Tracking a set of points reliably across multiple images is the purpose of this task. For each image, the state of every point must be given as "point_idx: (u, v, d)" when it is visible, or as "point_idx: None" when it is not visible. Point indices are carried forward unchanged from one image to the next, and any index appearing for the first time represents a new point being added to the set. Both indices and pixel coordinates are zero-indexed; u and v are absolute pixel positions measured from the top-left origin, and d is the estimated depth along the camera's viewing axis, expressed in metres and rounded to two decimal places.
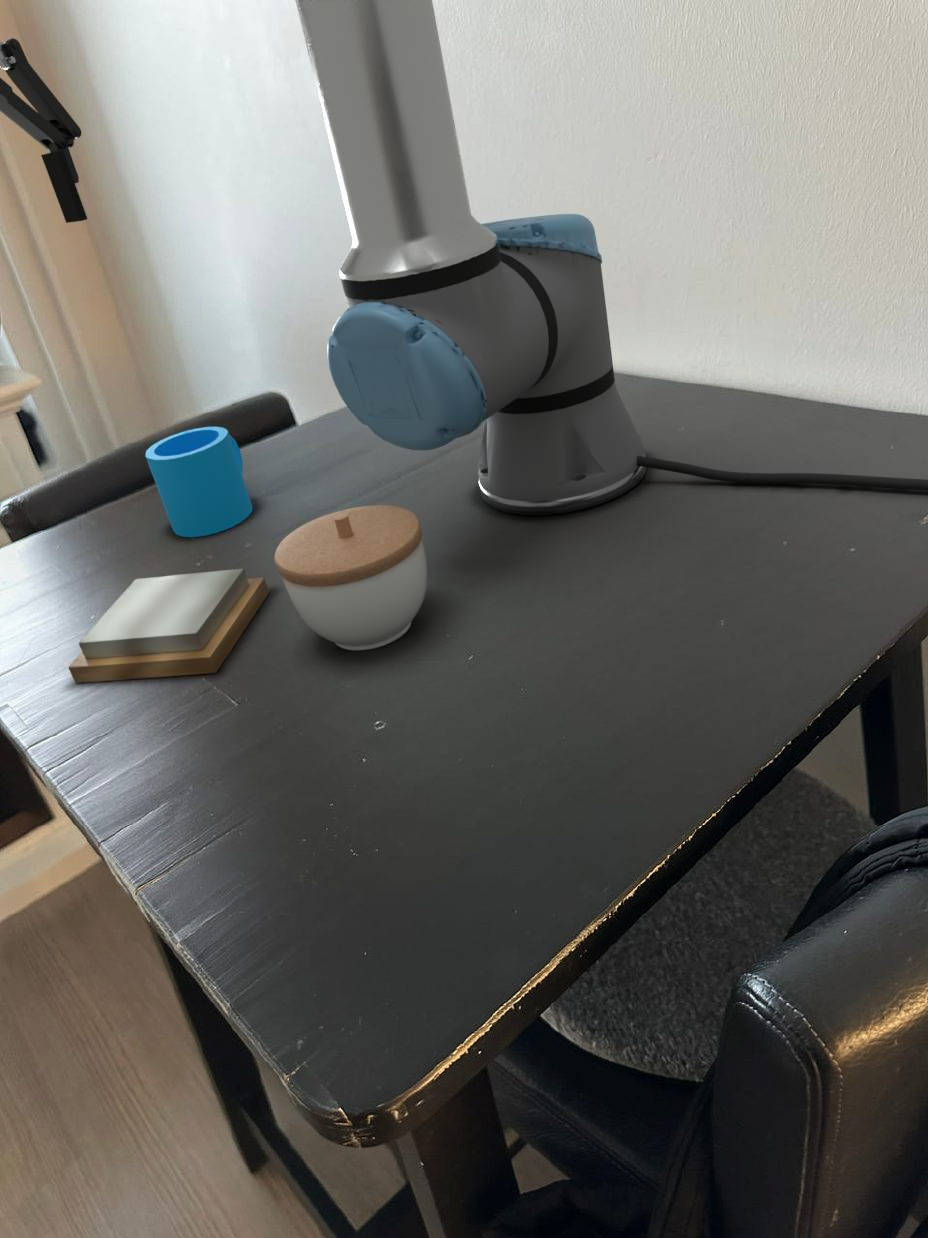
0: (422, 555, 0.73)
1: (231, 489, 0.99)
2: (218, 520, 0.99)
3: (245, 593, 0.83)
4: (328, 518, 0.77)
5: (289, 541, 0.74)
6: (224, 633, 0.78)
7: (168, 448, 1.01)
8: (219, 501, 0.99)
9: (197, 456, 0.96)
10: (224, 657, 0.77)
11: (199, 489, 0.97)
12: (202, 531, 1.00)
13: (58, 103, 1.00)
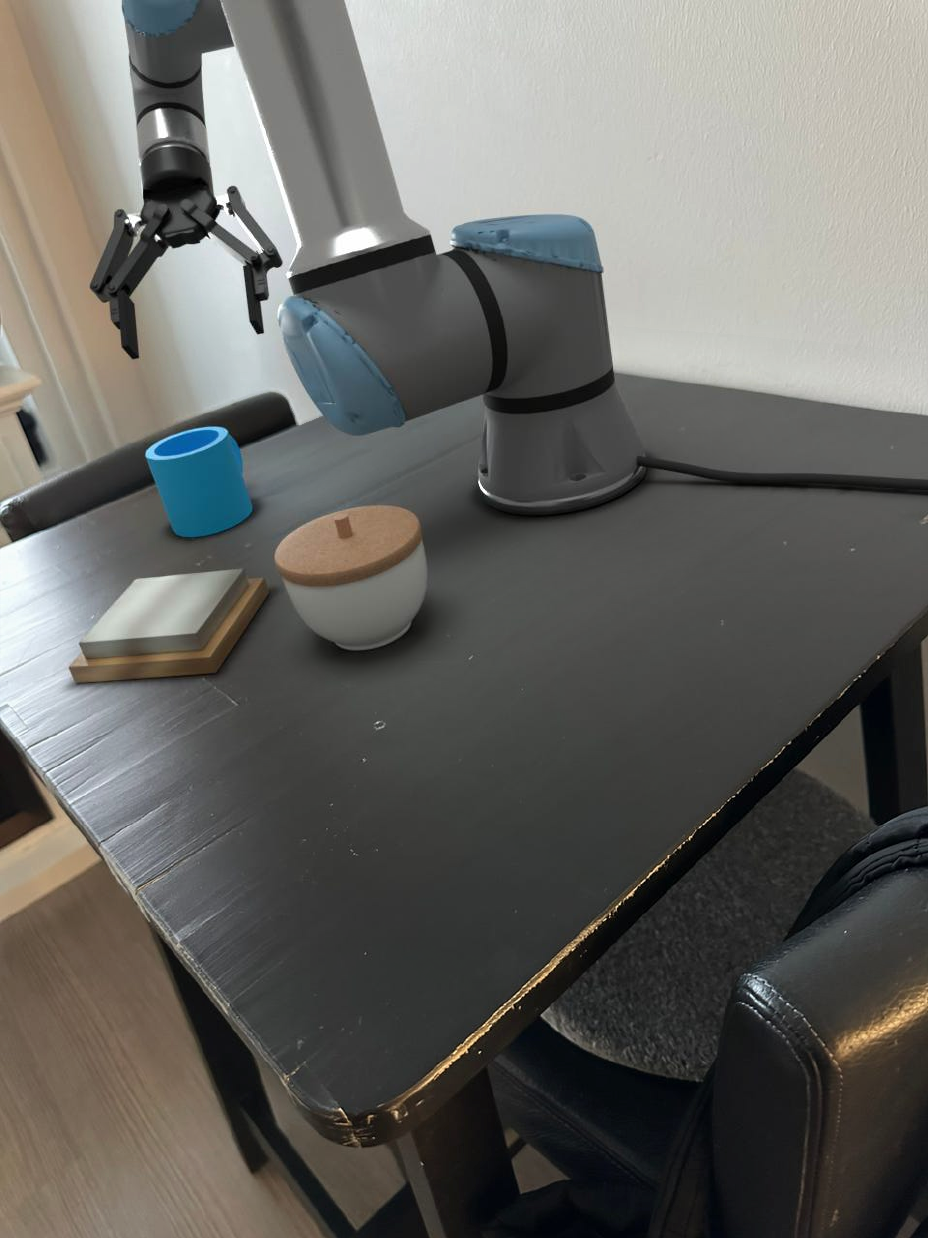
0: (422, 555, 0.73)
1: (231, 489, 0.99)
2: (218, 520, 0.99)
3: (245, 593, 0.83)
4: (328, 518, 0.77)
5: (289, 541, 0.74)
6: (224, 633, 0.78)
7: (168, 448, 1.01)
8: (219, 501, 0.99)
9: (197, 456, 0.96)
10: (224, 657, 0.77)
11: (199, 489, 0.97)
12: (202, 531, 1.00)
13: (259, 229, 1.07)
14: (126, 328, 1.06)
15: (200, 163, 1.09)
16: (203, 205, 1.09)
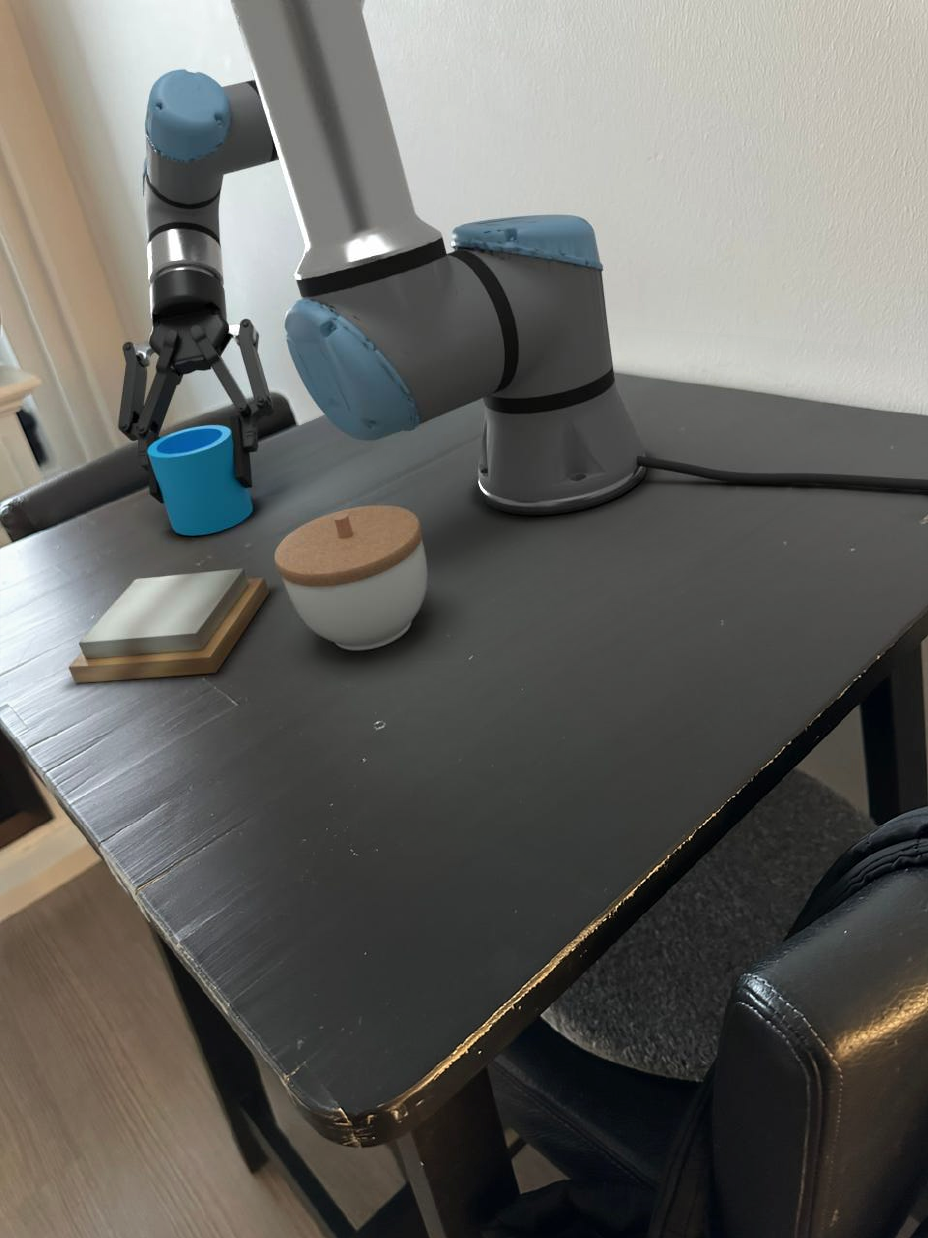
0: (422, 555, 0.73)
1: (232, 489, 0.99)
2: (218, 520, 0.99)
3: (245, 593, 0.83)
4: (328, 518, 0.77)
5: (289, 541, 0.74)
6: (224, 633, 0.78)
7: (170, 445, 1.01)
8: (220, 501, 0.99)
9: (200, 455, 0.96)
10: (224, 657, 0.77)
11: (201, 488, 0.97)
12: (202, 530, 0.99)
13: (257, 374, 1.01)
14: None
15: (212, 286, 1.04)
16: (212, 331, 1.03)
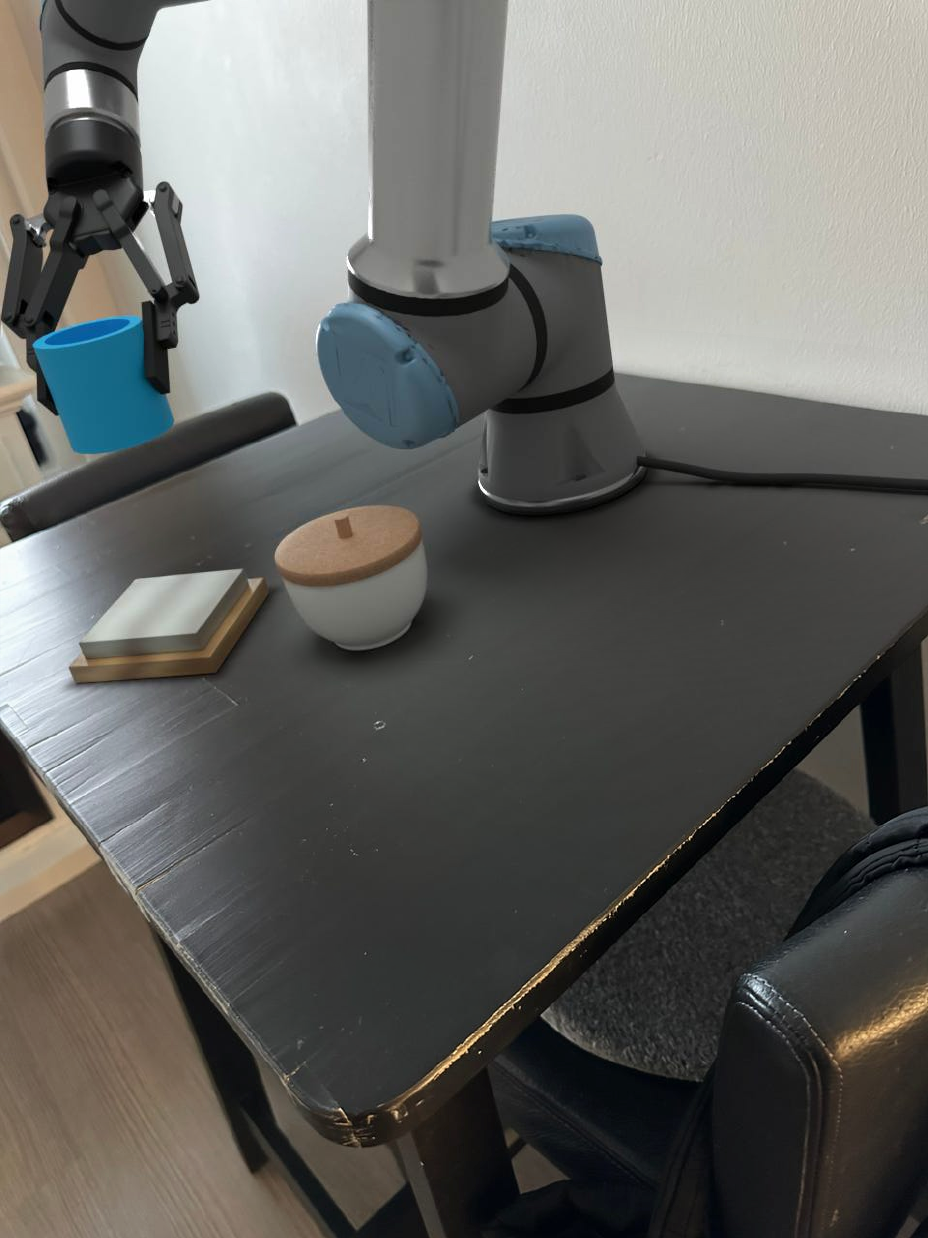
0: (422, 555, 0.73)
1: (143, 393, 0.77)
2: (126, 433, 0.77)
3: (245, 593, 0.83)
4: (328, 518, 0.77)
5: (289, 541, 0.74)
6: (224, 633, 0.78)
7: (66, 340, 0.79)
8: (127, 408, 0.77)
9: (97, 345, 0.74)
10: (224, 657, 0.77)
11: (100, 390, 0.75)
12: (105, 446, 0.78)
13: (176, 248, 0.79)
14: None
15: (122, 142, 0.82)
16: (122, 197, 0.81)
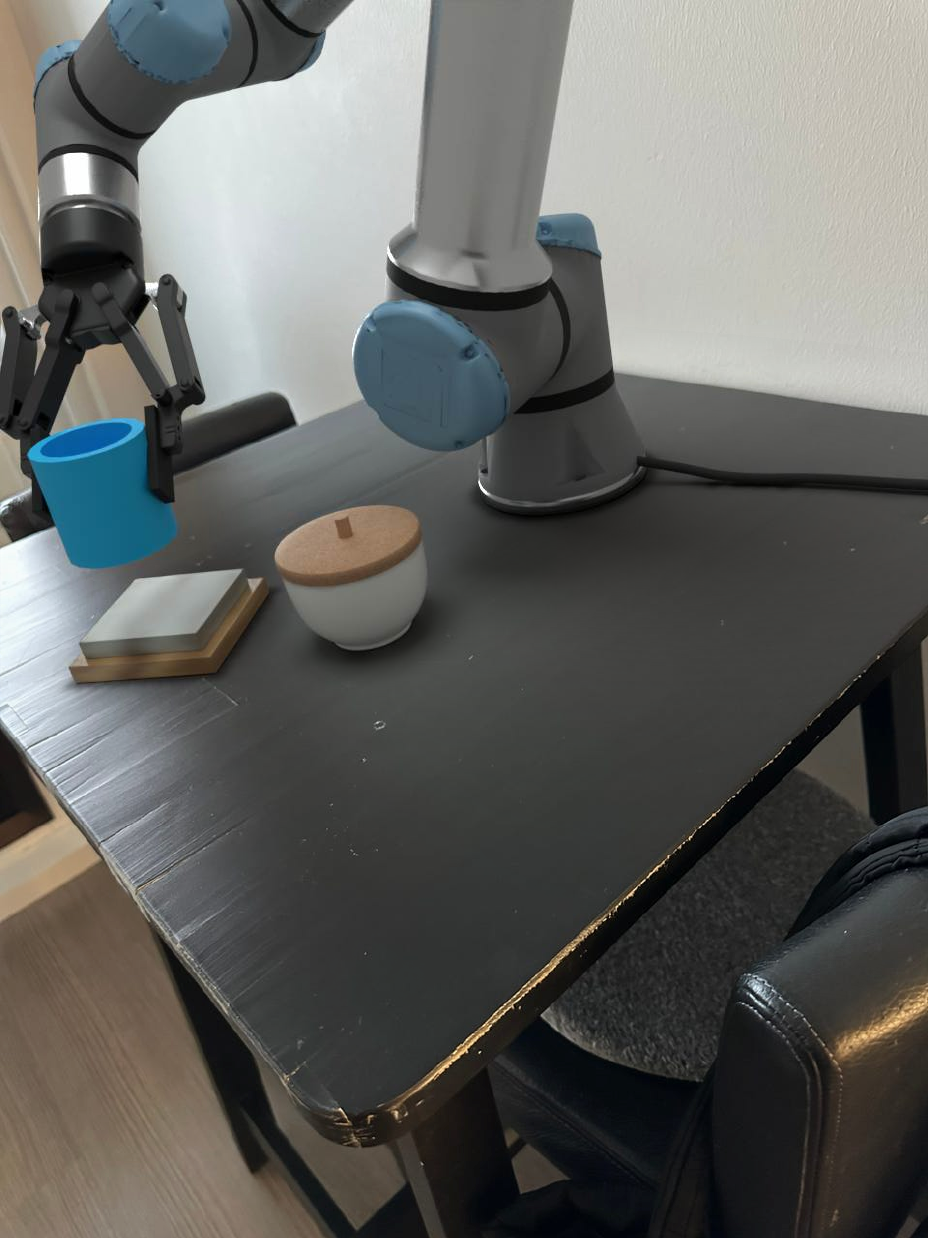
0: (422, 555, 0.73)
1: (146, 505, 0.73)
2: (127, 547, 0.72)
3: (245, 593, 0.83)
4: (328, 518, 0.77)
5: (289, 541, 0.74)
6: (224, 633, 0.78)
7: (63, 445, 0.74)
8: (129, 521, 0.72)
9: (97, 459, 0.69)
10: (224, 657, 0.77)
11: (100, 504, 0.71)
12: (105, 561, 0.73)
13: (181, 348, 0.74)
14: None
15: (122, 231, 0.77)
16: (122, 290, 0.76)
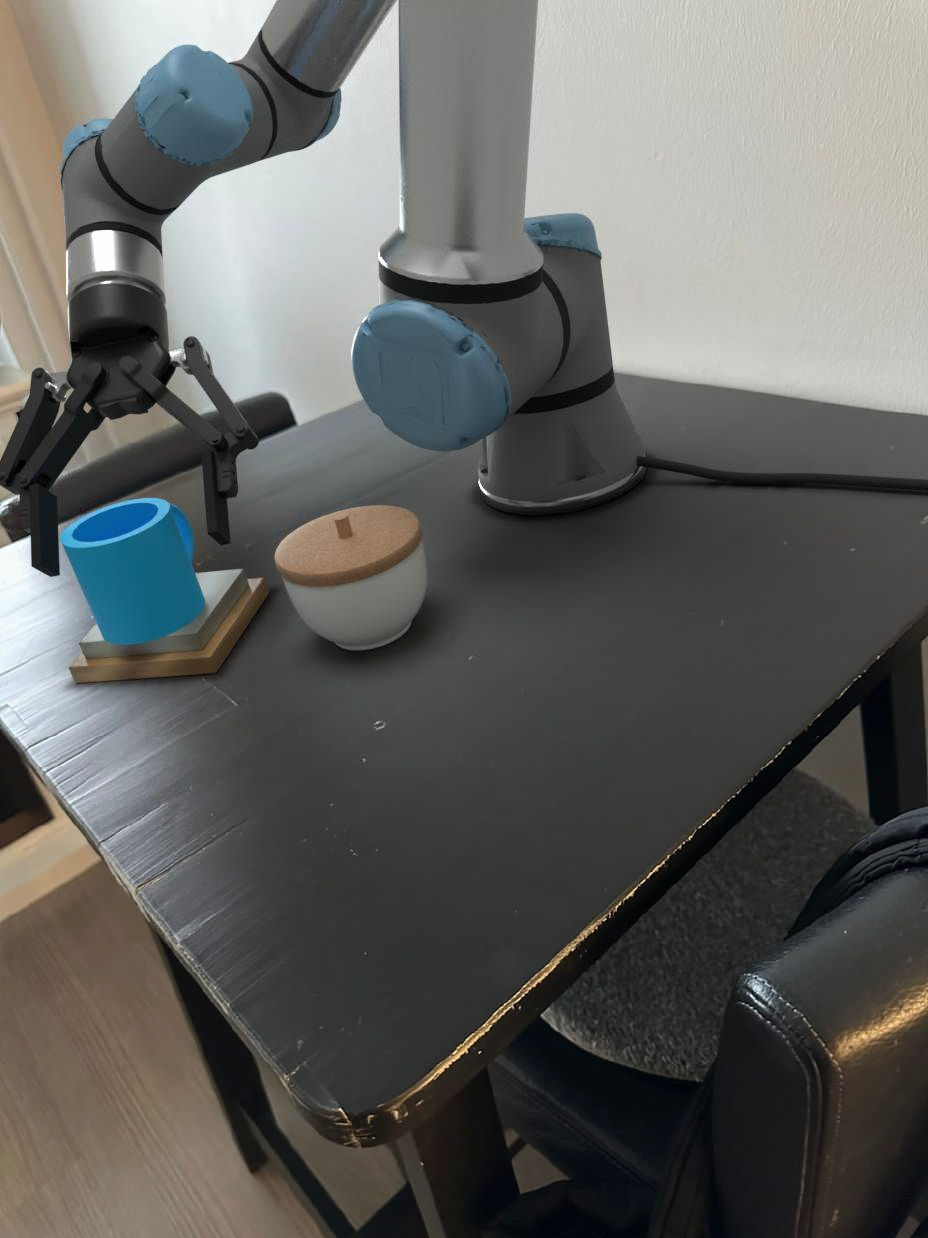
0: (422, 555, 0.73)
1: (174, 583, 0.76)
2: (157, 624, 0.76)
3: (245, 593, 0.83)
4: (328, 518, 0.77)
5: (289, 541, 0.74)
6: (224, 633, 0.78)
7: (93, 527, 0.78)
8: (158, 599, 0.75)
9: (127, 543, 0.72)
10: (224, 657, 0.77)
11: (131, 585, 0.74)
12: (136, 638, 0.76)
13: (226, 399, 0.77)
14: (39, 539, 0.76)
15: (148, 305, 0.80)
16: (151, 363, 0.79)
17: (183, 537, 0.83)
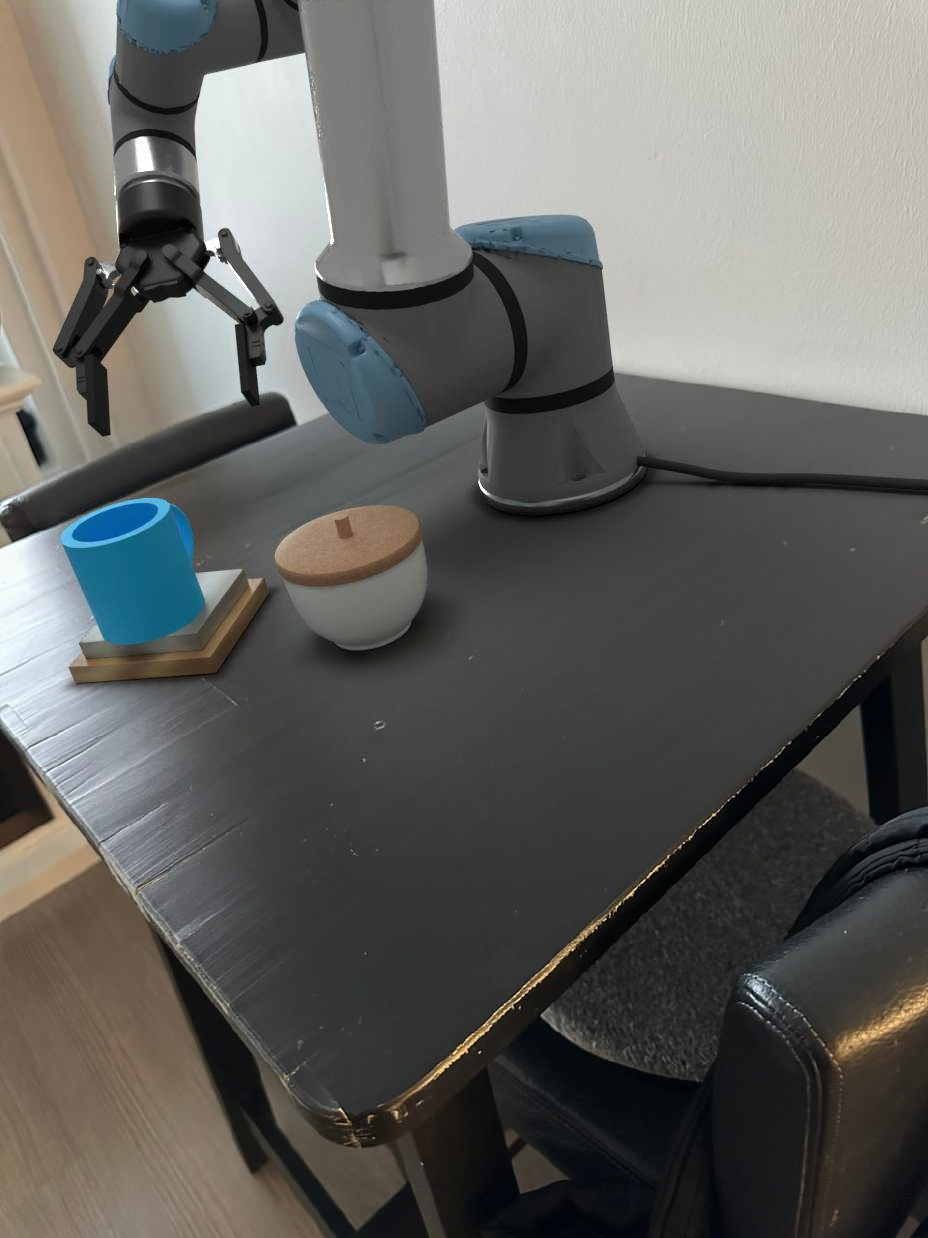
0: (422, 555, 0.73)
1: (174, 583, 0.76)
2: (157, 624, 0.76)
3: (245, 593, 0.83)
4: (328, 518, 0.77)
5: (289, 541, 0.74)
6: (224, 633, 0.78)
7: (93, 527, 0.78)
8: (158, 599, 0.75)
9: (127, 543, 0.72)
10: (224, 657, 0.77)
11: (130, 585, 0.74)
12: (136, 638, 0.76)
13: (255, 280, 0.89)
14: (94, 400, 0.88)
15: (187, 201, 0.91)
16: (189, 251, 0.91)
17: (183, 537, 0.83)
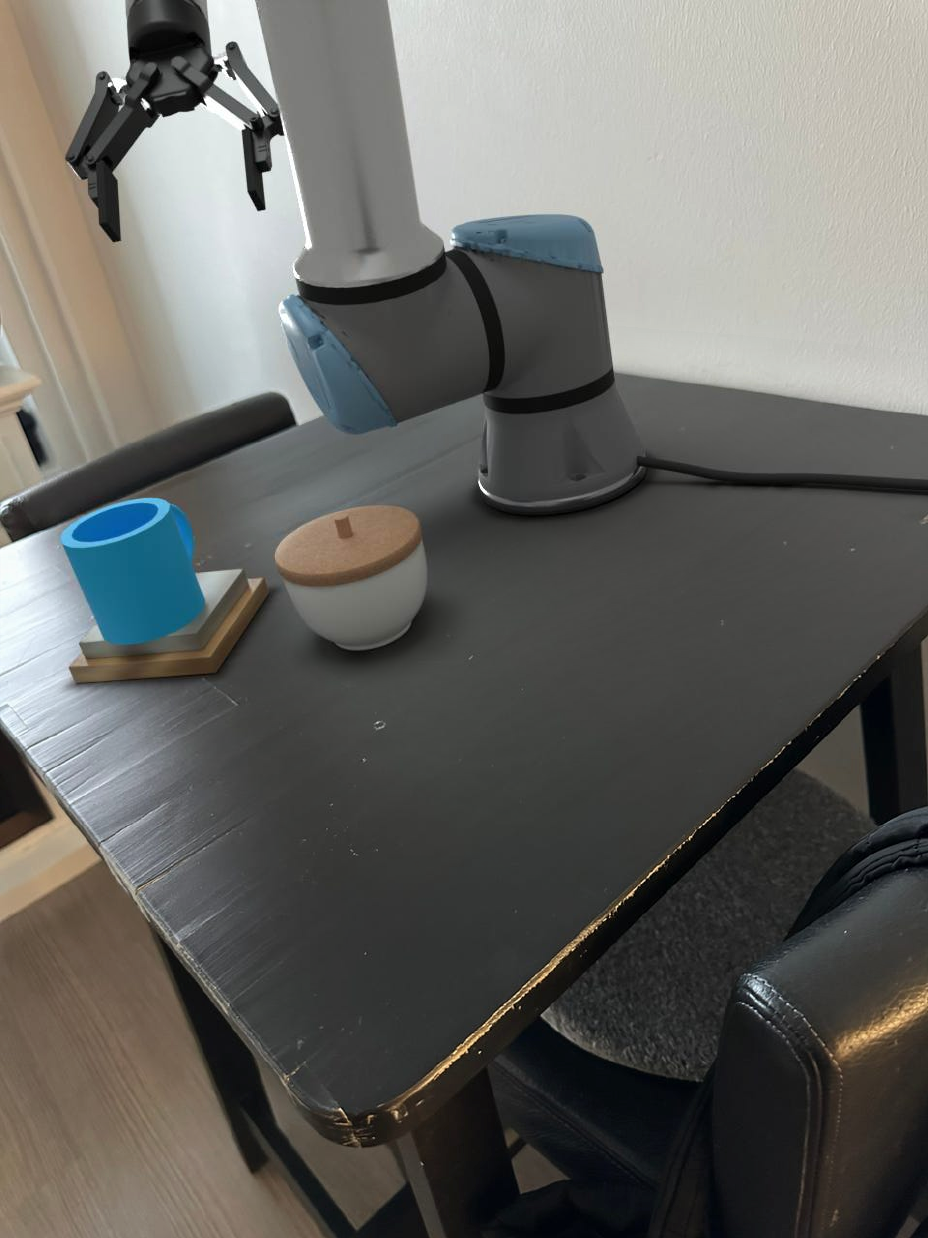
0: (422, 555, 0.73)
1: (174, 583, 0.76)
2: (157, 624, 0.76)
3: (245, 593, 0.83)
4: (328, 518, 0.77)
5: (289, 541, 0.74)
6: (224, 633, 0.78)
7: (93, 527, 0.78)
8: (158, 599, 0.75)
9: (127, 543, 0.72)
10: (224, 657, 0.77)
11: (130, 585, 0.74)
12: (136, 638, 0.76)
13: (262, 88, 0.92)
14: (105, 203, 0.91)
15: (195, 16, 0.94)
16: (198, 64, 0.93)
17: (183, 537, 0.83)
